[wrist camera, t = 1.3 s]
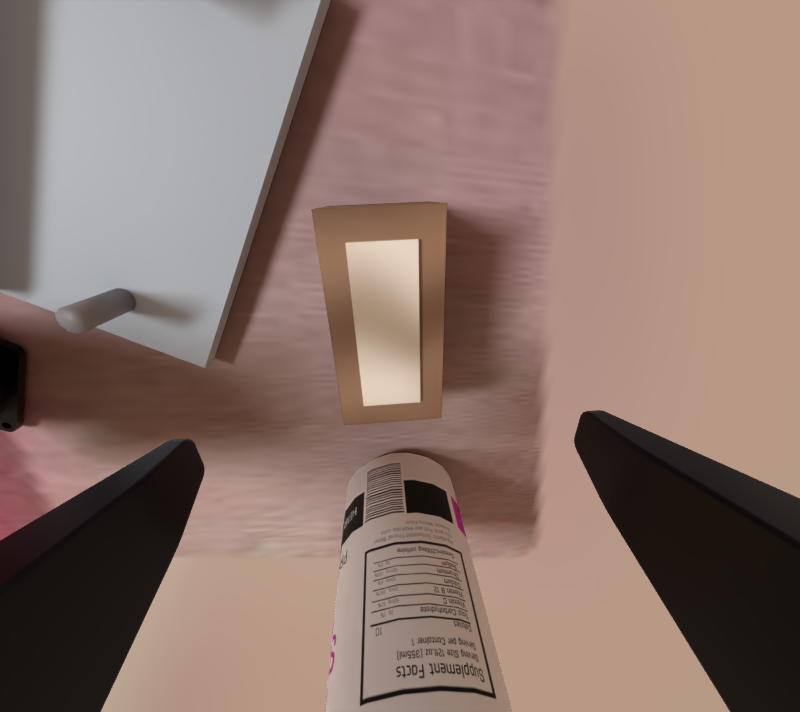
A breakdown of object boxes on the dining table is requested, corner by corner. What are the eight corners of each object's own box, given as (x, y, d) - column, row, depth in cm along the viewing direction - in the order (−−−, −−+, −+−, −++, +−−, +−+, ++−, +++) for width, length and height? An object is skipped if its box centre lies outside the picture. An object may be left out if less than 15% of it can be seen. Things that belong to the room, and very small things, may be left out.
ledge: (214, 358, 19) (174, 398, 15) (-8, 273, 16) (-125, 296, 12) (331, -4, 12) (313, -91, 9) (-10, -262, 9) (-263, -564, 6)
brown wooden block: (427, 370, 21) (442, 419, 16) (351, 375, 20) (344, 427, 16) (427, 201, 16) (447, 203, 12) (329, 206, 16) (310, 209, 11)
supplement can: (469, 485, 26) (571, 799, 12) (392, 531, 28) (408, 845, 14) (406, 428, 22) (451, 766, 9) (325, 485, 24) (264, 830, 11)
